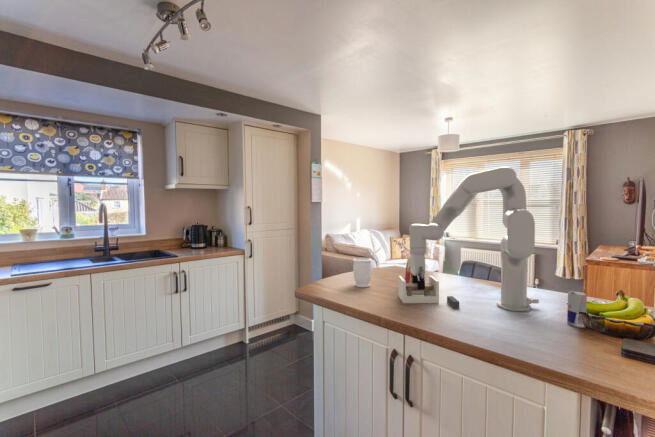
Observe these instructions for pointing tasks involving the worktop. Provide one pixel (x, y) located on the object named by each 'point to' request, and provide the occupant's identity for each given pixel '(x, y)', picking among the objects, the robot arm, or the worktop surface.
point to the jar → (362, 271)
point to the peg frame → (419, 292)
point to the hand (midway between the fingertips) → (418, 286)
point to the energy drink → (576, 308)
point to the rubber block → (453, 302)
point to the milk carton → (408, 271)
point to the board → (414, 287)
